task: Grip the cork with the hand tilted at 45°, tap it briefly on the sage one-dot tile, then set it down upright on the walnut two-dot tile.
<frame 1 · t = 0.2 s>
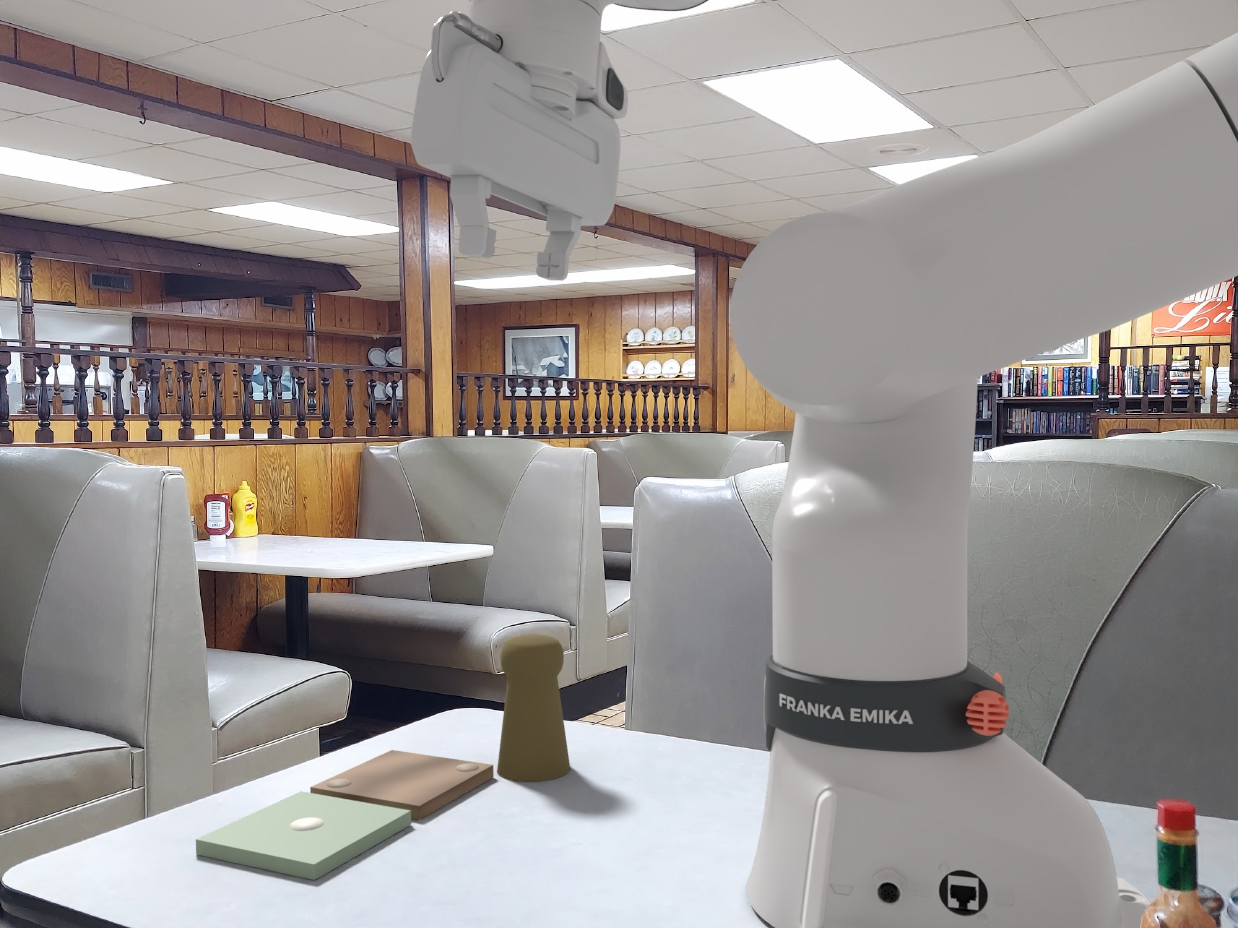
hand: (516, 268, 70), 39 cm above the table, tool pointing down, fingers open, 8 cm apart
tile one: (307, 838, 72), on the table
tile two: (404, 788, 82), on the table
cork: (533, 771, 86), on the table
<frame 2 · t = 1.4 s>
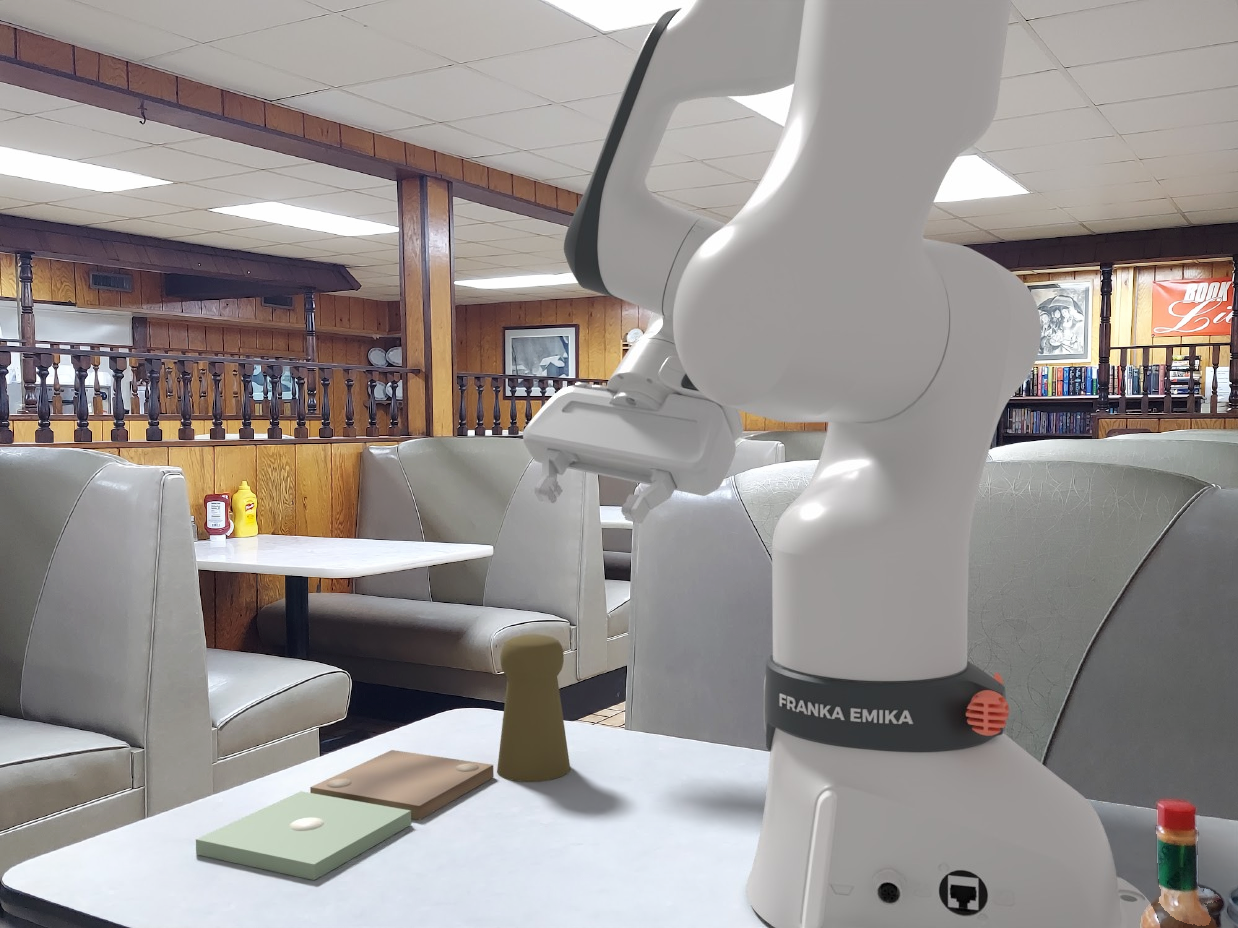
hand: (585, 507, 91), 21 cm above the table, tool tilted 45°, fingers open, 8 cm apart
nothing on the table moved.
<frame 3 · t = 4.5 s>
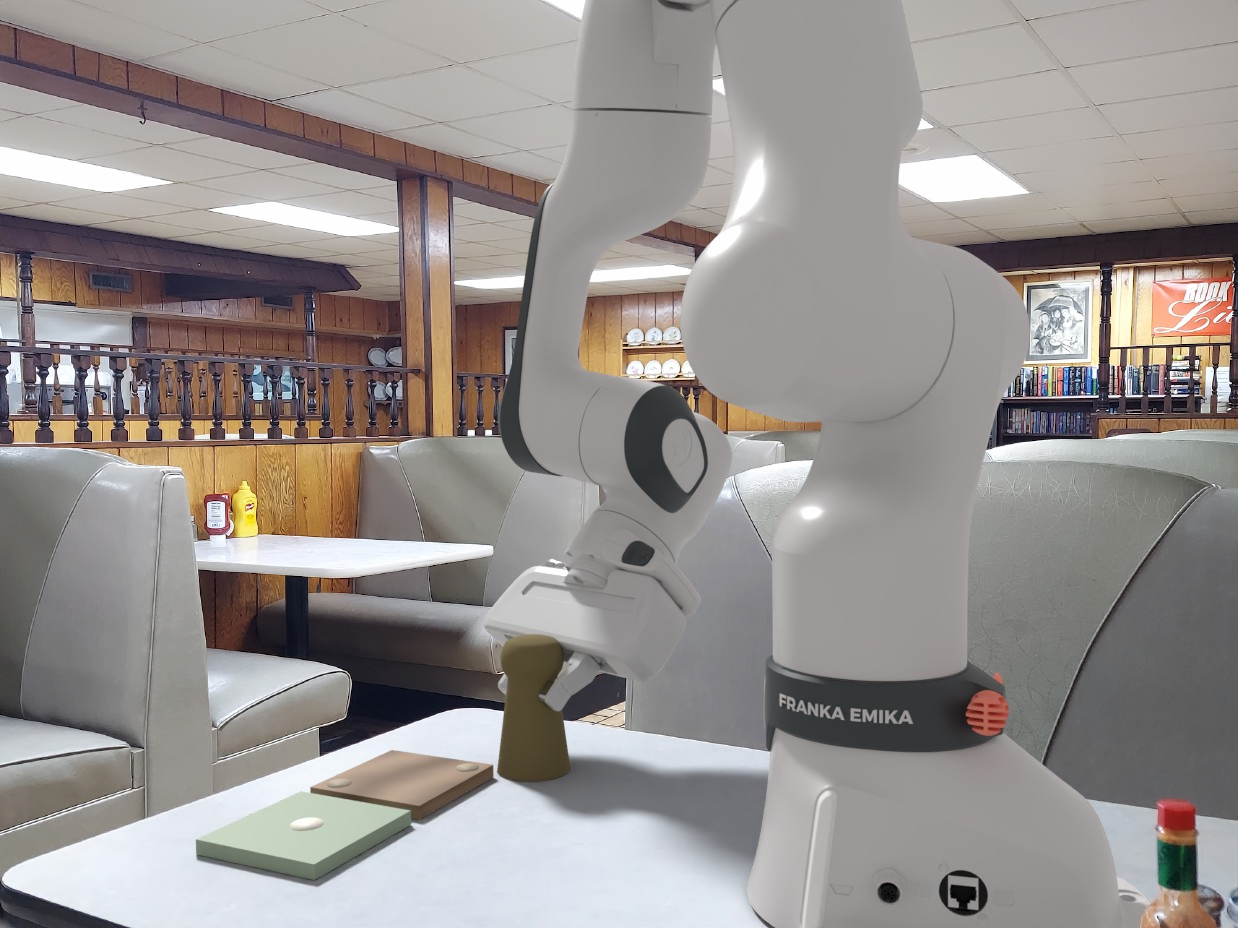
hand: (526, 699, 85), 6 cm above the table, tool tilted 45°, fingers closed on cork, 4 cm apart
cork: (533, 771, 86), on the table, touching gripper
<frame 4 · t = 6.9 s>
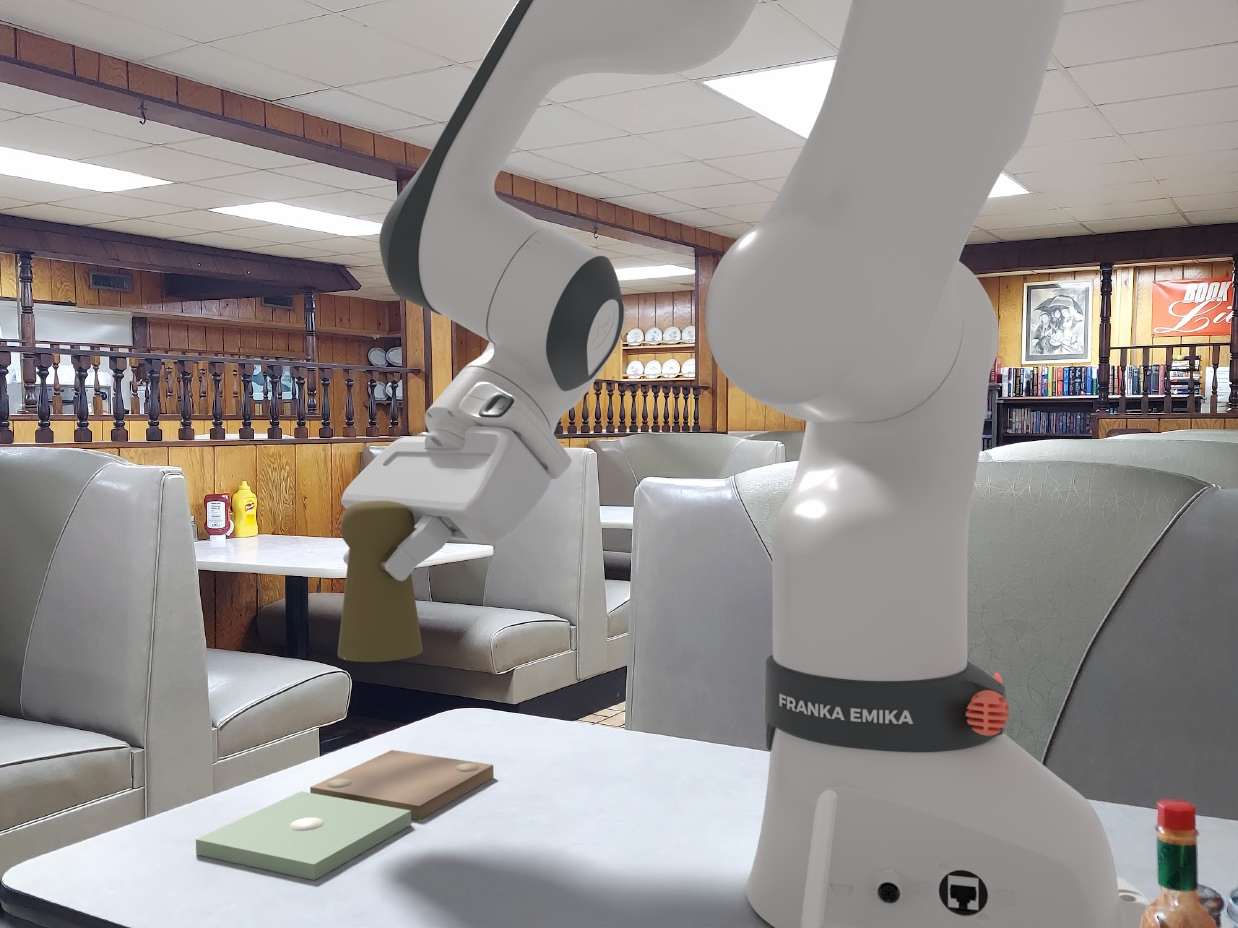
hand: (370, 571, 75), 18 cm above the table, tool tilted 45°, fingers closed on cork, 4 cm apart
cork: (380, 655, 76), point 12 cm above the table, touching gripper
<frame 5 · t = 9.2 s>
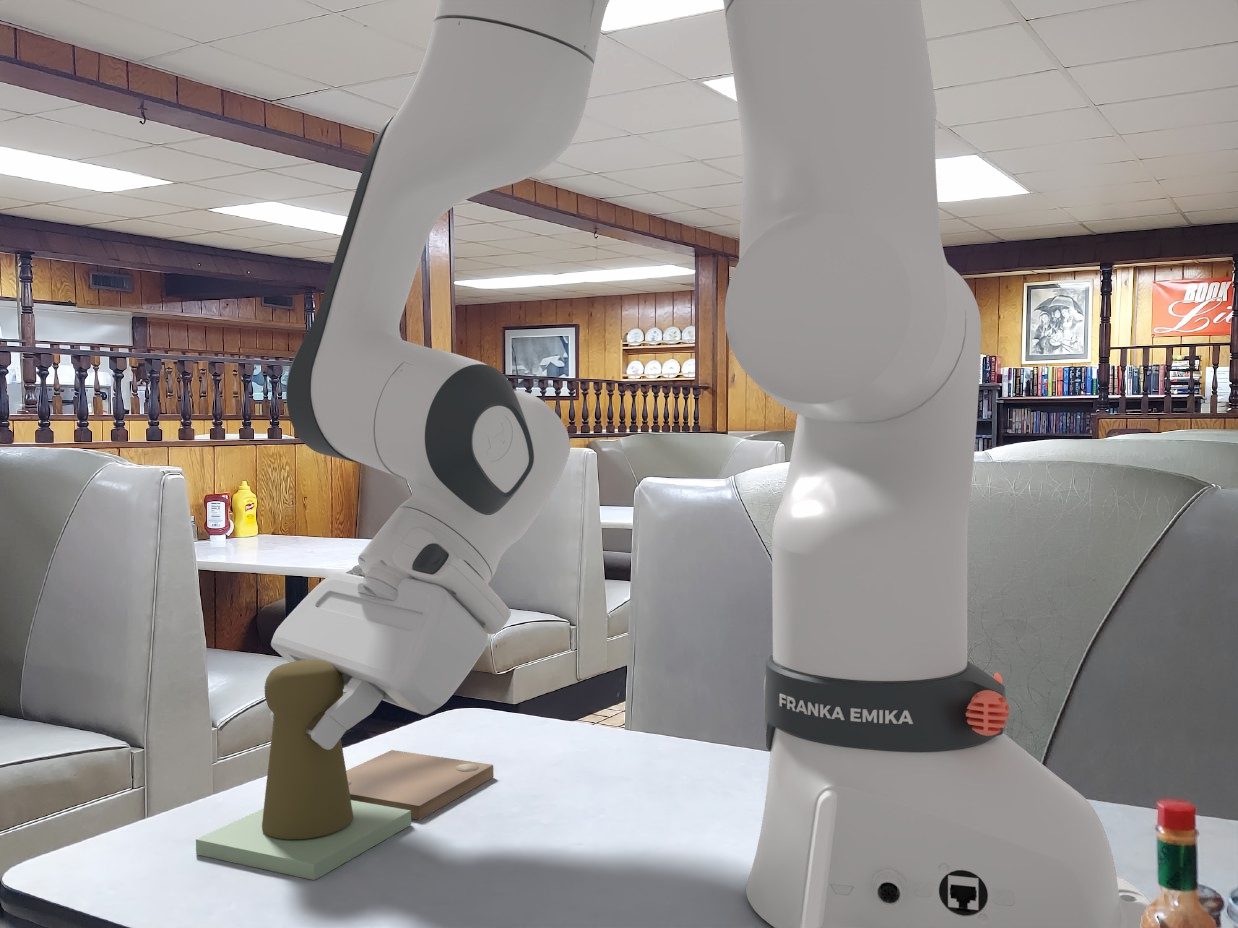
hand: (297, 734, 71), 7 cm above the table, tool tilted 45°, fingers closed on cork, 4 cm apart
cork: (308, 824, 72), point 1 cm above the table, touching gripper
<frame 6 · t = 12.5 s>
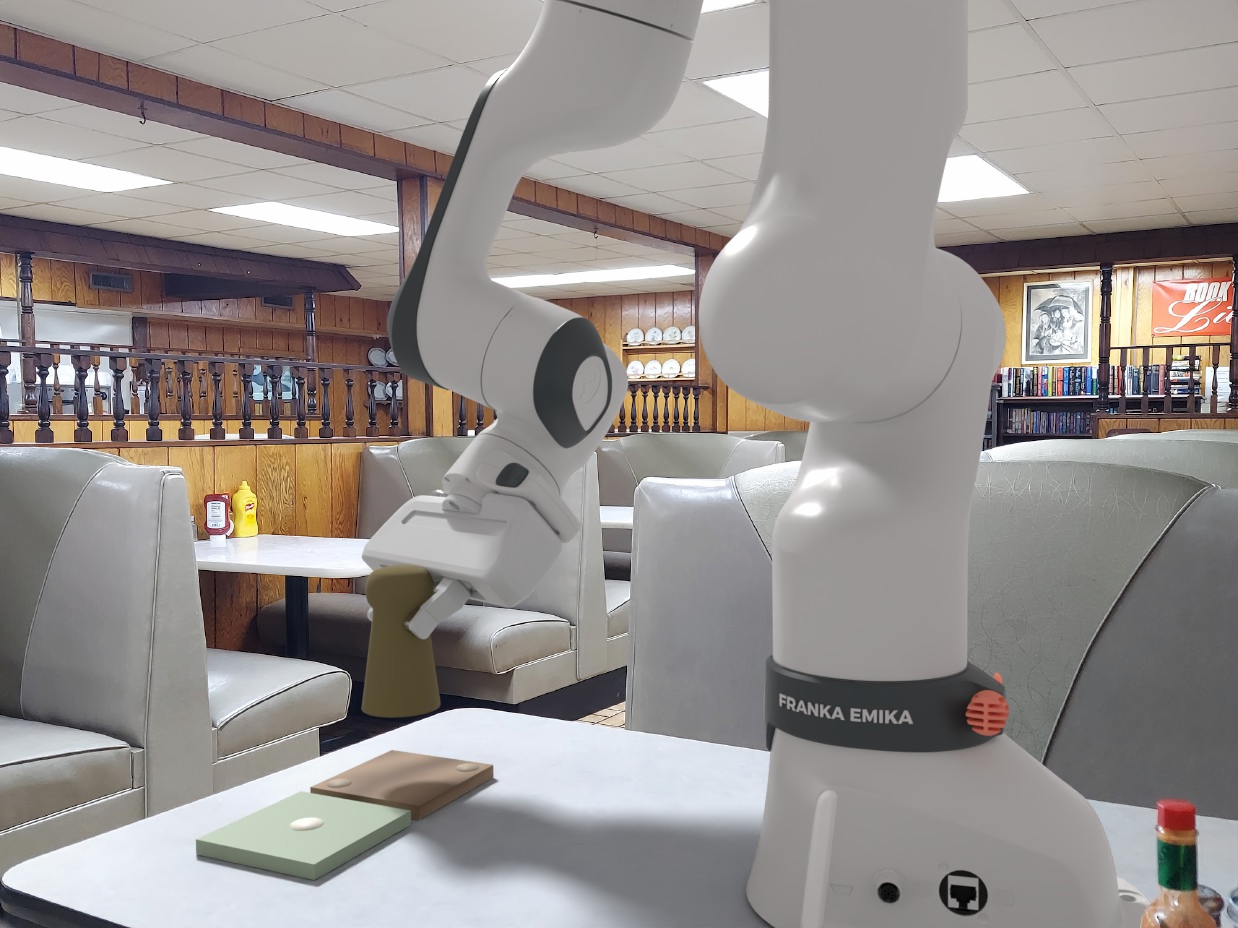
hand: (393, 628, 81), 13 cm above the table, tool tilted 45°, fingers closed on cork, 4 cm apart
cork: (401, 708, 82), point 6 cm above the table, touching gripper
when the fingers open (8 cm above the table, at t = 14.3 s): cork moves 2 cm, resting on tile two.
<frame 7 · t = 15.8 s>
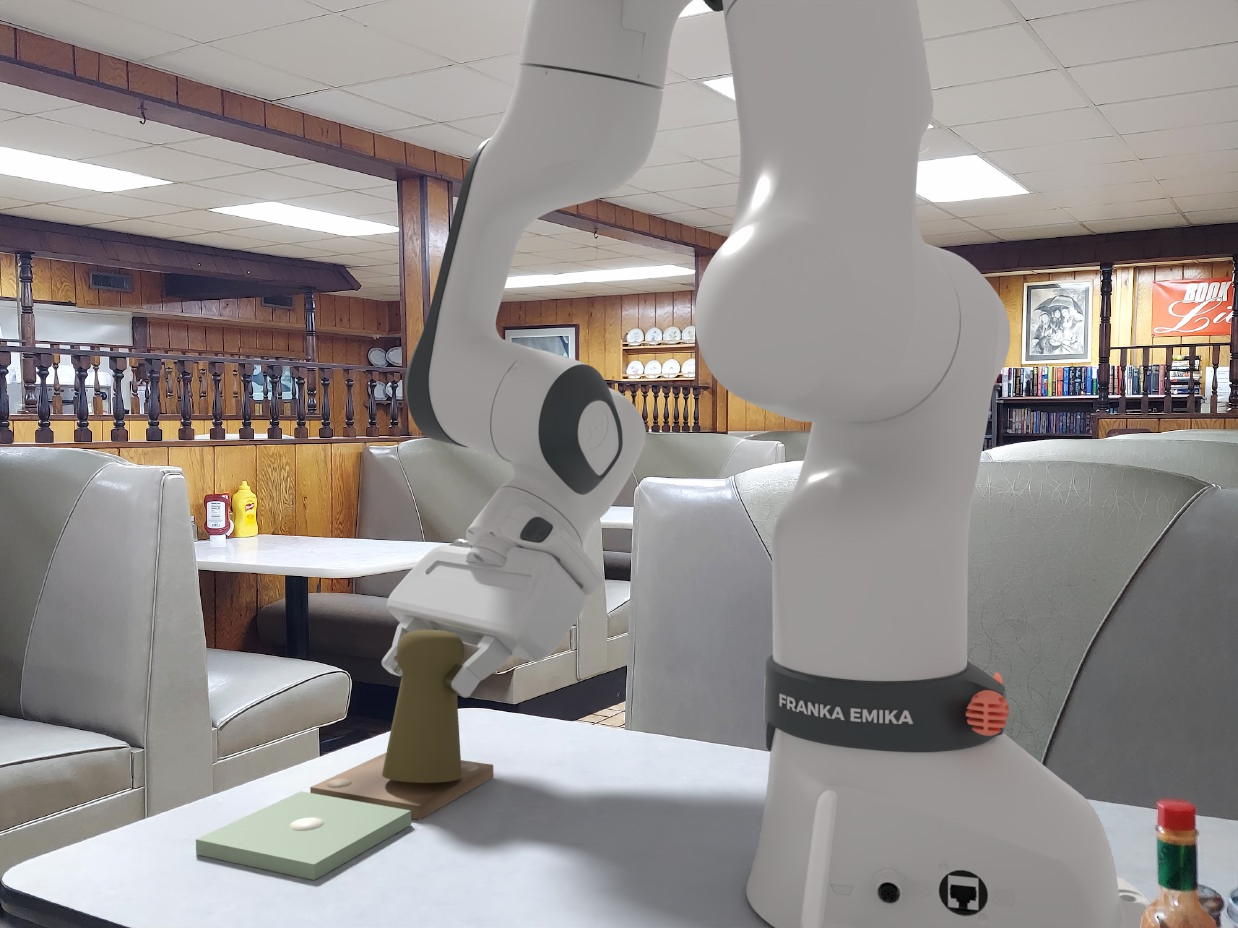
hand: (421, 680, 82), 8 cm above the table, tool tilted 45°, fingers open, 8 cm apart
cork: (421, 777, 80), point 1 cm above the table, touching gripper, tile two
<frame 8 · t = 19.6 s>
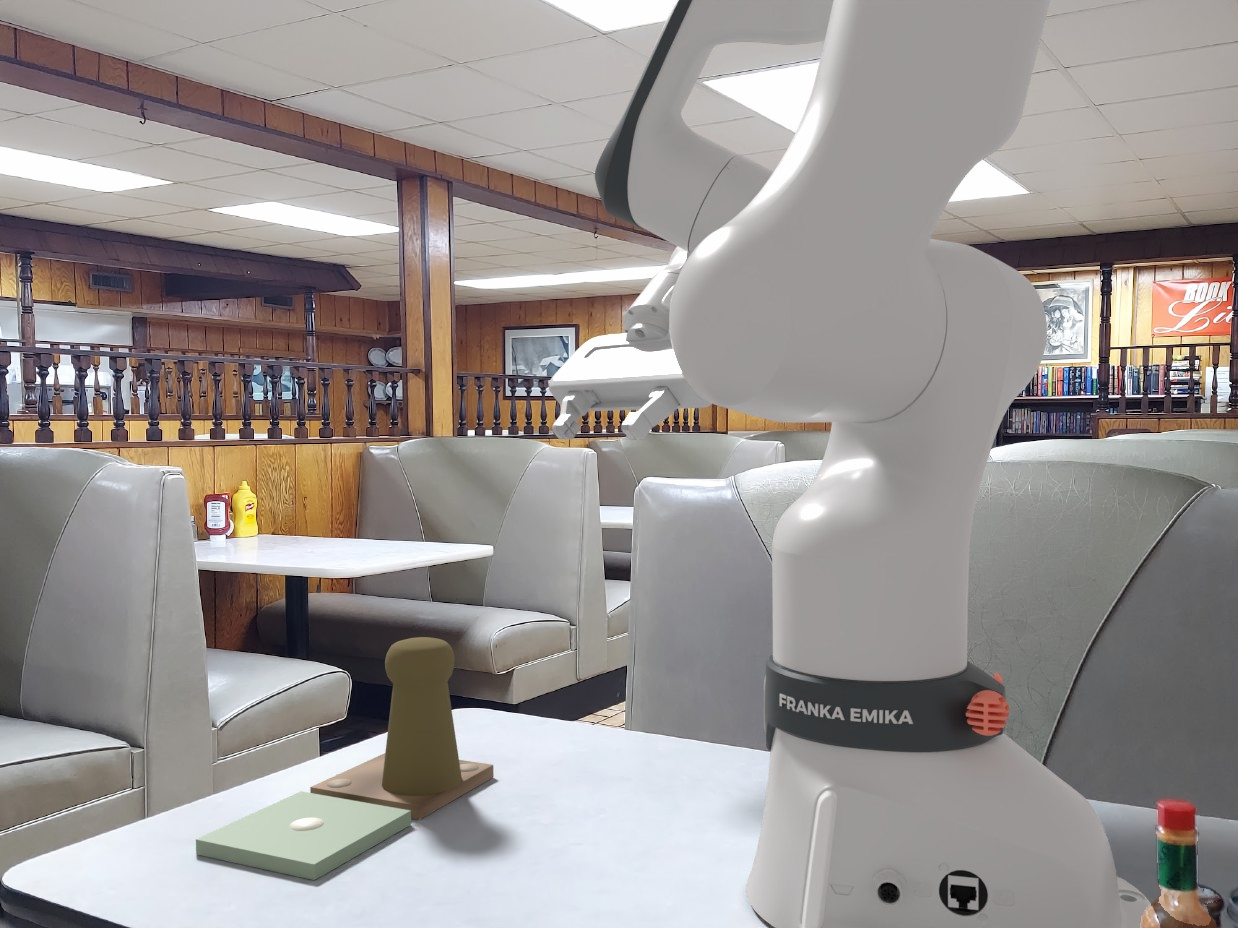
hand: (594, 435, 92), 27 cm above the table, tool tilted 45°, fingers open, 8 cm apart
cork: (422, 784, 80), point 1 cm above the table, touching tile two
at the end: cork 2.3 cm off-centre on the tile two, point 0.8 cm above the tile two's base; cork tilted 0°; the gripper is holding nothing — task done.
